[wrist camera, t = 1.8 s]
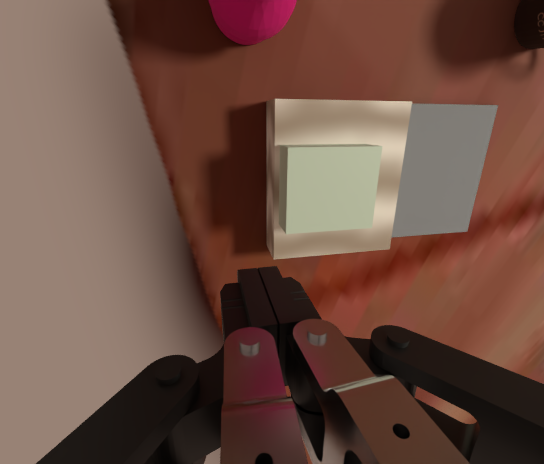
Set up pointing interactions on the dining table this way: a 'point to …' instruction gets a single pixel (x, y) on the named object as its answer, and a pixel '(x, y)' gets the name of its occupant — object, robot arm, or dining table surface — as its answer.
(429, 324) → the dining table surface
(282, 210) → the green tile
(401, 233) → the slate mat
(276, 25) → the pepper mill
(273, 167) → the block
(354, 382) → the robot arm
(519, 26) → the coffee mug
